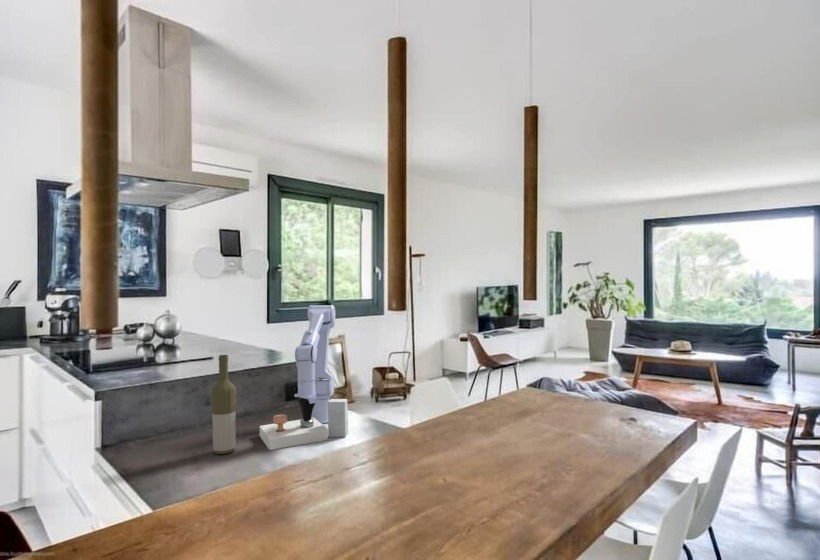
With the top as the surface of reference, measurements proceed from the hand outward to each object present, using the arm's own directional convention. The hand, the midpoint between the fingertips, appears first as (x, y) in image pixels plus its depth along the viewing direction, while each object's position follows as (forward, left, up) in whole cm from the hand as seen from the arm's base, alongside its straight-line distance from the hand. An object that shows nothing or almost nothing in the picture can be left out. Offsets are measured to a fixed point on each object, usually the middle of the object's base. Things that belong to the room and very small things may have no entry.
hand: (306, 420), depth 157 cm
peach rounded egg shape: (0, -9, -2) cm, 9 cm away
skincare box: (+4, +10, -6) cm, 12 cm away
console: (-1, -4, -6) cm, 7 cm away
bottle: (+1, -26, -6) cm, 27 cm away
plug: (0, 0, -5) cm, 5 cm away
